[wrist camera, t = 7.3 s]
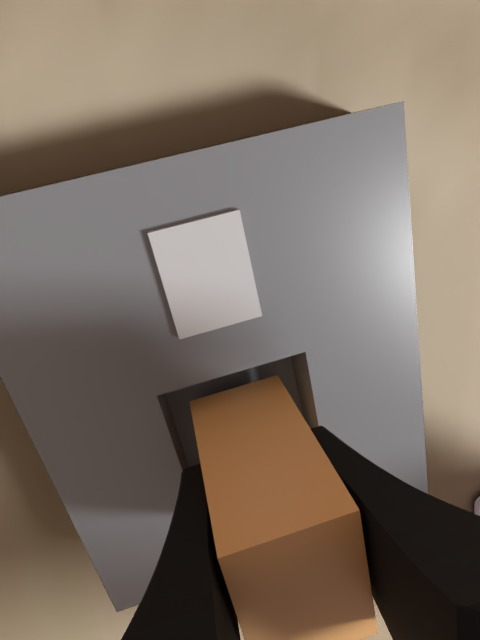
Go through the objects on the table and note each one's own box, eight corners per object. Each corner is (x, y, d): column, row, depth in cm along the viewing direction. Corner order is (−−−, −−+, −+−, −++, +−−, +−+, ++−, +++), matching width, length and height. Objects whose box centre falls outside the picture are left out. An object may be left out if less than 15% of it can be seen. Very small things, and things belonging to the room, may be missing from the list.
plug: (277, 374, 14) (359, 509, 9) (297, 468, 16) (377, 633, 10) (189, 401, 14) (217, 558, 9) (217, 494, 16) (257, 678, 10)
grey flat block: (352, 112, 14) (408, 100, 11) (388, 454, 19) (432, 507, 16) (-31, 203, 13) (-84, 216, 10) (121, 542, 18) (116, 617, 15)
